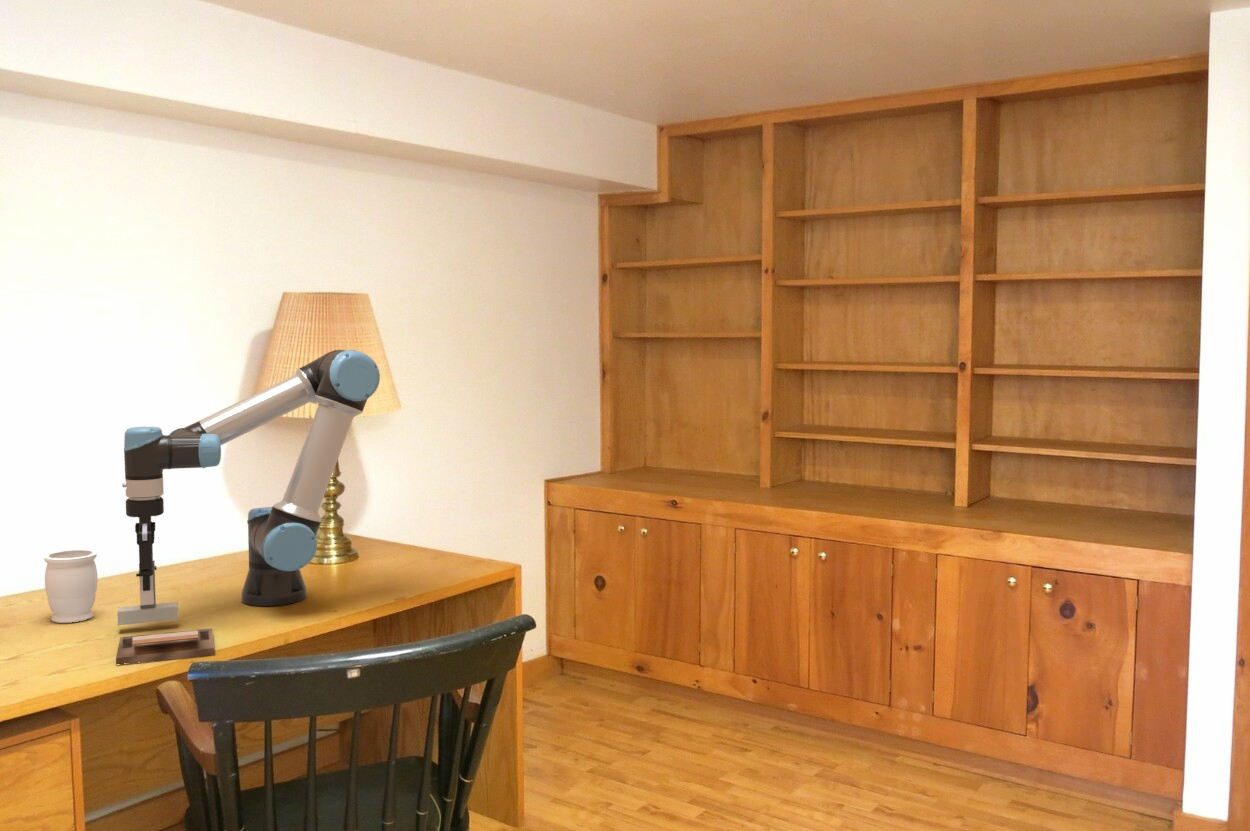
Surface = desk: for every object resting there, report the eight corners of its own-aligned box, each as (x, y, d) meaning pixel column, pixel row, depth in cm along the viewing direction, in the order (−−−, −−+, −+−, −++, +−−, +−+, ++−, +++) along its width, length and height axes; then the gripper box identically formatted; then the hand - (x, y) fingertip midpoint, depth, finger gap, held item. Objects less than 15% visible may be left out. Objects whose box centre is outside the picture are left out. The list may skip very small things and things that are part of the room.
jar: (106, 612, 238) (105, 549, 237) (84, 625, 228) (82, 559, 226) (60, 612, 238) (58, 549, 236) (36, 625, 227) (34, 559, 226)
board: (212, 635, 221) (212, 620, 221) (214, 655, 208) (214, 639, 207) (120, 644, 214) (119, 628, 214) (116, 665, 200) (115, 649, 200)
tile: (197, 630, 207) (198, 637, 206) (197, 631, 213) (197, 638, 213) (132, 636, 202) (132, 644, 202) (134, 637, 208) (134, 644, 208)
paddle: (178, 615, 229) (176, 558, 228) (178, 619, 226) (176, 562, 225) (118, 620, 225) (117, 562, 224) (117, 625, 221) (115, 566, 220)
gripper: (127, 492, 229) (130, 595, 231) (123, 504, 214) (126, 613, 216) (163, 491, 232) (166, 592, 234) (162, 502, 217) (165, 609, 219)
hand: (147, 602), depth 225 cm, fingers closed on paddle, 3 cm apart
